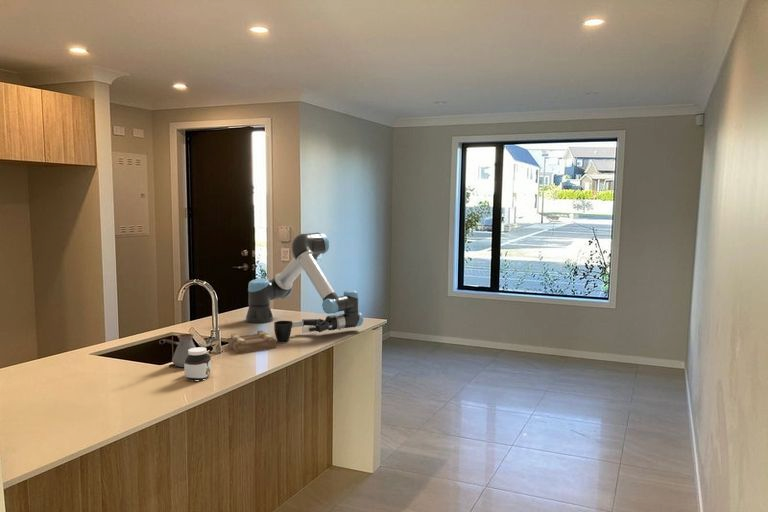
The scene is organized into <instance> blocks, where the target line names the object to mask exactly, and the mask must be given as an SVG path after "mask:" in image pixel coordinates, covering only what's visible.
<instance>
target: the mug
mask: <svg viewBox="0 0 768 512" xmlns="http://www.w3.org/2000/svg"><path fill="white" fill-rule="evenodd" d="M292 322H293V321H292V320H277V321H274V324H273V325H274V326H273V328H274V335H275V338H276V343H279V342H286V343H288V342H287V341H289V342H290V338H291V332H292Z"/></svg>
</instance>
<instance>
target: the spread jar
mask: <svg viewBox="0 0 768 512" xmlns="http://www.w3.org/2000/svg"><path fill="white" fill-rule="evenodd" d="M188 354H189V355H188V356H187V358H186V359H185V363H184V368H183V369H184V377H185V378H186V379H187V380H188V381H190V380H203V379H206V378H207V379H209V377H210V375H211V373H212V360H211V359H212V358H211V355H210V354H208V353H207V348H206V347H203V346H201V347H200V346H199V347H196V348H191V349H189V350H188ZM207 379H206V380H207ZM203 381H204V380H203Z"/></svg>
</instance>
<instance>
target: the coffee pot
mask: <svg viewBox="0 0 768 512" xmlns="http://www.w3.org/2000/svg"><path fill="white" fill-rule="evenodd" d="M194 336H195V335H194V334H193V333H181V334H178V335H177V338H178V341H174V340H171V339H167V338H162V339H159V345H160V344H161V345H163V344H165V343H167V344H173V345H177V346H176V348H175V351H174V353H173V356H172V359H171V362H172V364H174V365H175V366H176V367H177V366H179V367H184V363H185V359H186V358H187V356H188V355H189V354H188V350H189V349H191V348H197V347H196V345H195V343H194V341H193V337H194ZM161 341H162V342H163V343H161ZM179 367H178V368H179Z"/></svg>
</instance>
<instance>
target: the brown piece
mask: <svg viewBox="0 0 768 512" xmlns="http://www.w3.org/2000/svg"><path fill="white" fill-rule="evenodd" d="M227 341H228V347H229V348H230V347H231V348H230V349H232V350H233V351H234V350H235V351H234V352H236V353H237V354H244V353H250V352H257V351H258V352H259V351H264V349H265V350H270V348H272V349H277V339H275V338H274V337H273V336H272V335H270V334H269V333H267V332H266V331H263V330H257V332H256V333H255V334H248V335H238V334H236V333H231V334H230V337H228V338H227Z"/></svg>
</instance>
